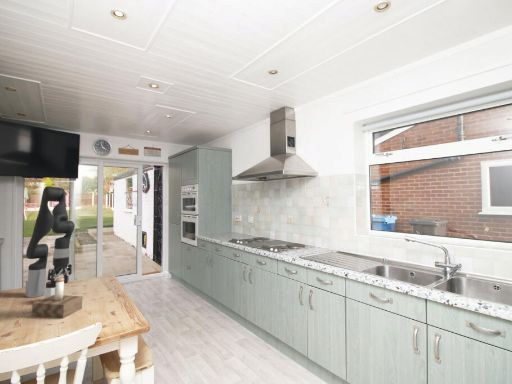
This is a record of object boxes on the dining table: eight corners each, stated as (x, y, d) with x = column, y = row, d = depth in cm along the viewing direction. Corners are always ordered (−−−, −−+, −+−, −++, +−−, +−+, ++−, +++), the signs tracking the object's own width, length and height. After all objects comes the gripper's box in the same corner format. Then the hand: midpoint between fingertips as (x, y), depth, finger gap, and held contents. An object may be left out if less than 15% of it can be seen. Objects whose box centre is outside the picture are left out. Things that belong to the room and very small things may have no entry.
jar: (58, 303, 166) (59, 283, 167) (42, 304, 163) (43, 284, 164) (62, 298, 174) (64, 279, 175) (47, 299, 172) (49, 280, 172)
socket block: (31, 316, 146) (32, 303, 147) (52, 306, 160) (53, 294, 161) (63, 318, 145) (63, 304, 145) (81, 308, 159) (82, 296, 159)
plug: (52, 303, 151) (53, 279, 152) (57, 300, 155) (59, 277, 156) (58, 303, 151) (60, 279, 152) (64, 301, 155) (66, 277, 155)
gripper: (64, 253, 162) (63, 281, 161) (44, 258, 148) (42, 288, 147) (76, 254, 161) (75, 282, 160) (57, 258, 147) (55, 289, 146)
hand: (59, 285), depth 153 cm, fingers open, 8 cm apart
